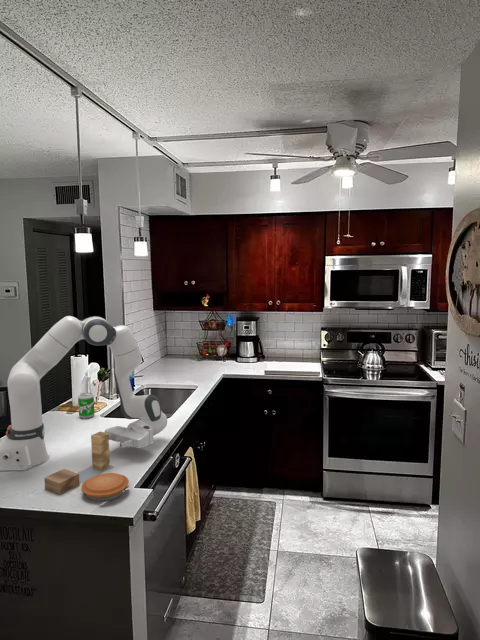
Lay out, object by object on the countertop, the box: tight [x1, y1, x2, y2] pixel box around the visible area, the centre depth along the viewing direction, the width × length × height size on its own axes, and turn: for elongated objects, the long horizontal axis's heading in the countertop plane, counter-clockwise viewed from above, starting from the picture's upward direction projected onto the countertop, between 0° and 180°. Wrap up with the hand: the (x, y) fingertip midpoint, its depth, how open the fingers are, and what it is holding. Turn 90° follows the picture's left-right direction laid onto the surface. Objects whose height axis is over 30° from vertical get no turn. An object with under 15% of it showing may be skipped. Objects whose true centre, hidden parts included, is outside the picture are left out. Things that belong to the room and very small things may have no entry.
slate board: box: [61, 464, 116, 495], centre depth 163 cm, size 24×8×1 cm, turn 149°
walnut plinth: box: [43, 468, 81, 495], centre depth 156 cm, size 8×8×4 cm
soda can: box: [77, 392, 95, 420], centre depth 229 cm, size 8×8×12 cm
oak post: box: [90, 431, 111, 471], centre depth 170 cm, size 4×4×13 cm
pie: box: [81, 472, 130, 503], centre depth 153 cm, size 15×16×5 cm
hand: (112, 443), depth 175 cm, fingers open, 8 cm apart
